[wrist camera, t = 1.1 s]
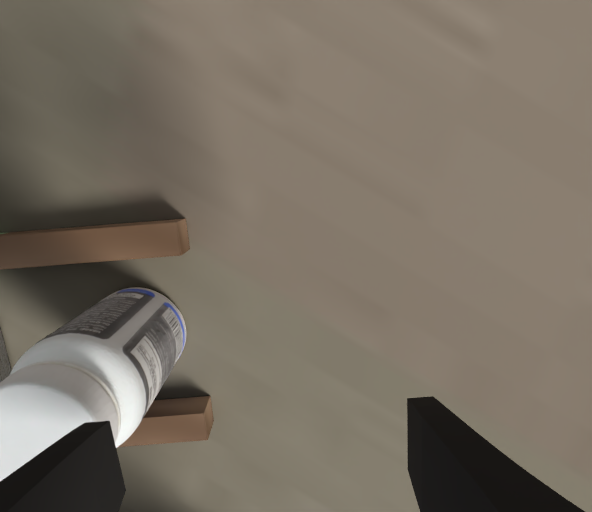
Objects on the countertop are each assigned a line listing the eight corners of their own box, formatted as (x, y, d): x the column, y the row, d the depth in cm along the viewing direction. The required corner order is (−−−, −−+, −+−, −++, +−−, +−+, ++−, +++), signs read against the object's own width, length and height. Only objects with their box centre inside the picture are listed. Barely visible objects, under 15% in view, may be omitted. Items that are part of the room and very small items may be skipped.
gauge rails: (213, 420, 20) (207, 440, 19) (-81, 443, 20) (-111, 465, 19) (185, 218, 18) (176, 222, 16) (-147, 244, 18) (-186, 250, 16)
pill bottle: (79, 344, 19) (-79, 469, 11) (120, 268, 18) (-18, 341, 10) (162, 387, 20) (71, 537, 11) (205, 315, 19) (140, 421, 11)
